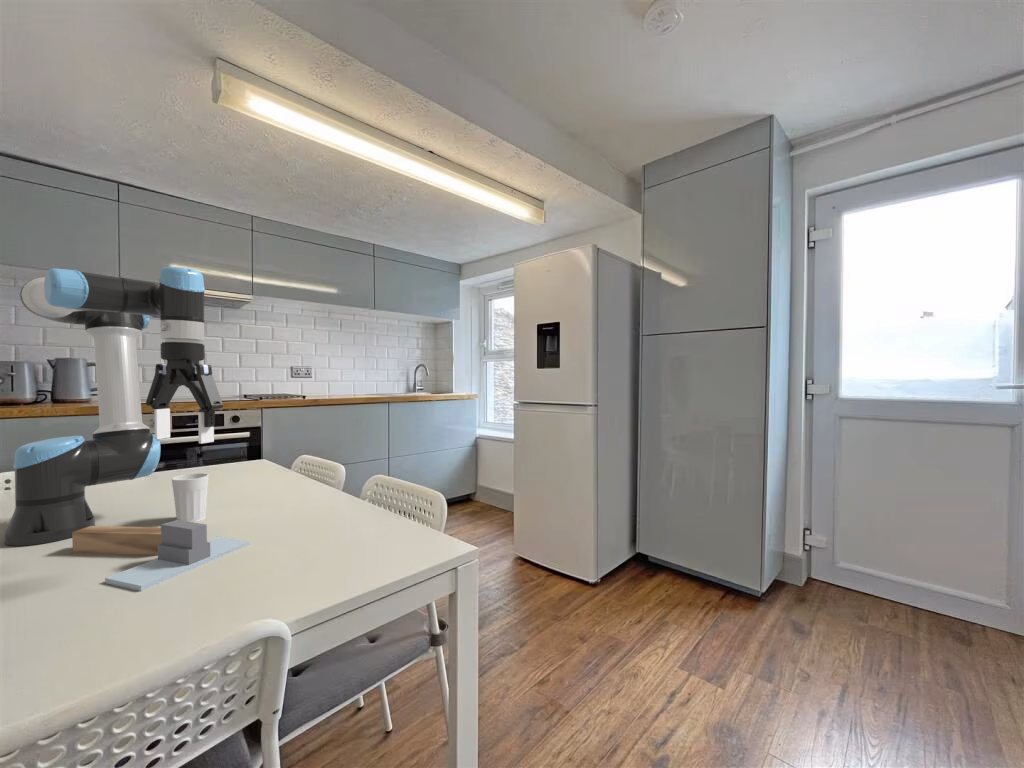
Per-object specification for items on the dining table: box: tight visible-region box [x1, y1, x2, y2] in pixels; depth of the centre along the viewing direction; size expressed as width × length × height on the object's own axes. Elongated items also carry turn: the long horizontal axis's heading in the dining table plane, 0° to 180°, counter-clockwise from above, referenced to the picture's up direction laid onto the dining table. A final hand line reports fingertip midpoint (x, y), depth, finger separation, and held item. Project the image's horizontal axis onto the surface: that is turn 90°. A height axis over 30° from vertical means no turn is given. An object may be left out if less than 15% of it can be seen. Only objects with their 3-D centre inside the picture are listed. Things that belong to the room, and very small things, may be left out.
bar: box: [71, 525, 161, 556], centre depth 96 cm, size 4×21×5 cm, turn 86°
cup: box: [171, 472, 210, 523], centre depth 116 cm, size 8×8×12 cm
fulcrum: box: [104, 519, 251, 592], centre depth 90 cm, size 10×22×8 cm, turn 162°
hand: (183, 440), depth 93 cm, fingers open, 13 cm apart
